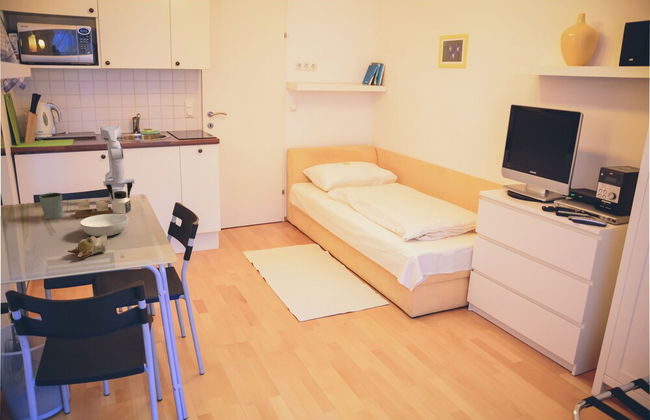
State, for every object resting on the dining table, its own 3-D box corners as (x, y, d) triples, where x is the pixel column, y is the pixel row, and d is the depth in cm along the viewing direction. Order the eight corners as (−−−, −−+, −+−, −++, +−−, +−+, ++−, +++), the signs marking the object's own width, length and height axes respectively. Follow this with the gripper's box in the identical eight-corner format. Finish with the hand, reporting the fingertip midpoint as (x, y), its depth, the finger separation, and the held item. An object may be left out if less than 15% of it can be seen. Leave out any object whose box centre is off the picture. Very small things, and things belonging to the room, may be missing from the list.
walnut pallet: (75, 215, 268) (74, 209, 267) (111, 211, 275) (110, 206, 274) (76, 220, 259) (75, 215, 258) (112, 216, 266) (112, 211, 266)
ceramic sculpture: (110, 234, 214) (73, 244, 204) (114, 253, 217) (77, 264, 207) (100, 228, 221) (64, 238, 212) (104, 246, 224) (68, 257, 214)
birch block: (78, 211, 273) (77, 200, 272) (89, 210, 276) (88, 199, 274) (78, 213, 270) (77, 201, 268) (90, 211, 272) (88, 200, 270)
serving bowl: (138, 229, 248) (137, 215, 246) (110, 243, 229) (108, 228, 227) (102, 225, 253) (100, 211, 251) (71, 238, 234) (69, 224, 232)
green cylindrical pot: (68, 215, 268) (65, 193, 264) (57, 221, 258) (53, 198, 254) (50, 214, 268) (47, 192, 265) (38, 220, 259) (34, 197, 255)
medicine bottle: (126, 215, 269) (124, 193, 265) (112, 215, 269) (110, 193, 266) (131, 211, 276) (129, 189, 272) (118, 211, 276) (116, 189, 272)
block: (97, 212, 269) (95, 201, 267) (108, 211, 271) (107, 200, 270) (97, 214, 266) (96, 203, 264) (109, 213, 268) (107, 202, 266)
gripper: (102, 174, 253) (105, 201, 257) (134, 172, 259) (136, 198, 263) (102, 172, 259) (104, 198, 263) (132, 169, 265) (134, 195, 269)
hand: (120, 198), depth 263 cm, fingers open, 7 cm apart
